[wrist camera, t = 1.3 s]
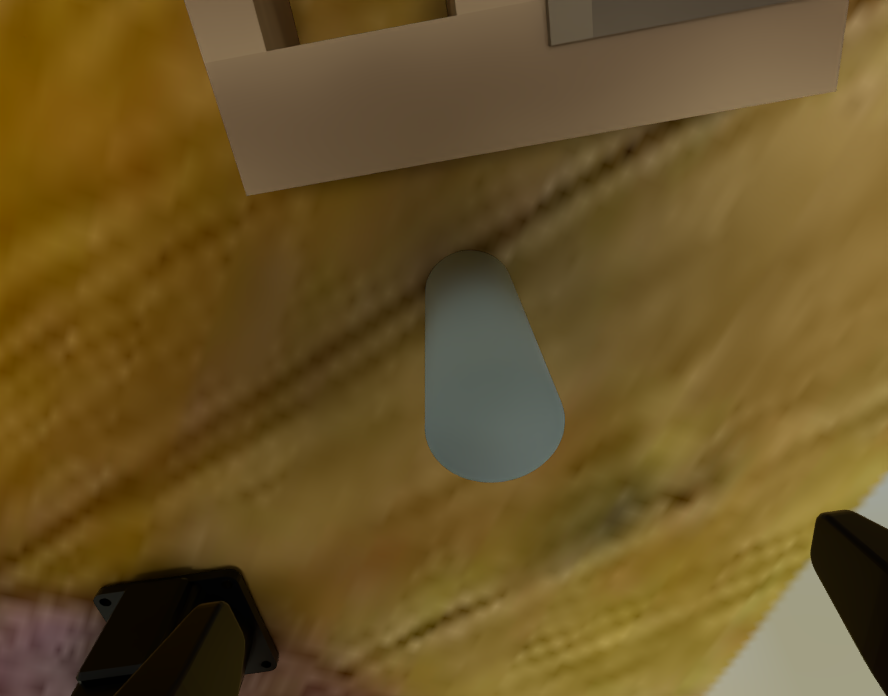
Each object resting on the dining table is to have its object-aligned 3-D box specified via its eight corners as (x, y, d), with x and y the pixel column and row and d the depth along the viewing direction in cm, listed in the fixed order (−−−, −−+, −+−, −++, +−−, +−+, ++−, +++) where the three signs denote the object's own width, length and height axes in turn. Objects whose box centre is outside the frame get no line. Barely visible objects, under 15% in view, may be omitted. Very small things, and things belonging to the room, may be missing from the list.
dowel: (517, 325, 20) (569, 471, 13) (433, 338, 20) (437, 491, 13) (507, 243, 18) (559, 354, 11) (417, 258, 19) (413, 378, 11)
